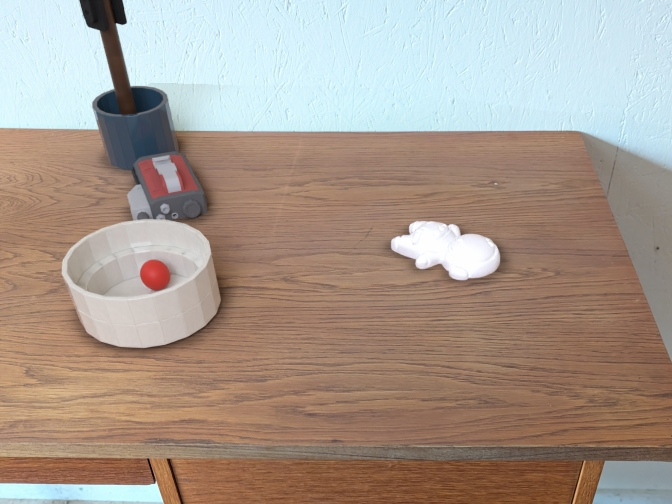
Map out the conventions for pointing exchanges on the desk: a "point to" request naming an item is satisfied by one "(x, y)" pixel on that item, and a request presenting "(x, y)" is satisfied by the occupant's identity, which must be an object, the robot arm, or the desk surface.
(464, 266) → the white animal figurine
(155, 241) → the bowl
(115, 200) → the desk surface
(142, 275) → the red ball
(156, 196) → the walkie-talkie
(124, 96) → the stick
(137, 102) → the crock
